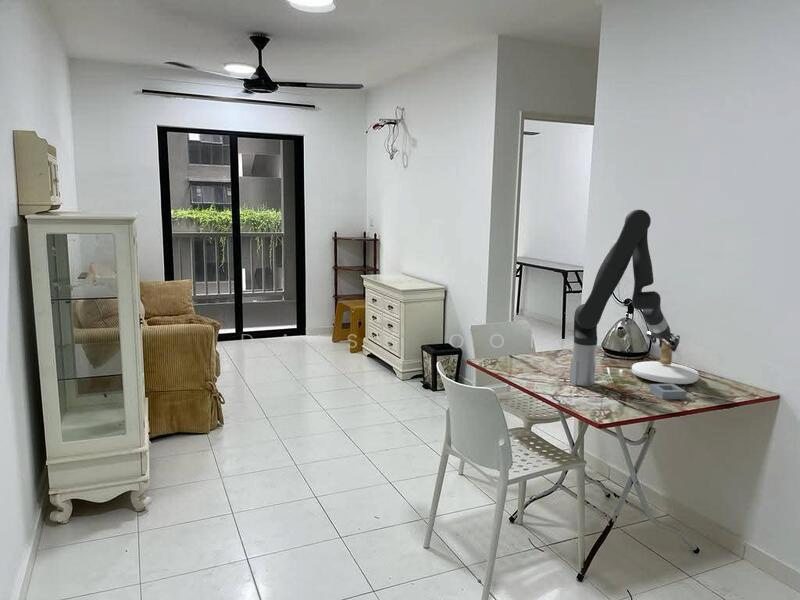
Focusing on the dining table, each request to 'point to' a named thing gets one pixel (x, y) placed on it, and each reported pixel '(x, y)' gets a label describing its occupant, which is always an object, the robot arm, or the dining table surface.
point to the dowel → (666, 353)
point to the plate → (665, 372)
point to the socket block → (668, 391)
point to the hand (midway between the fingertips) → (668, 348)
